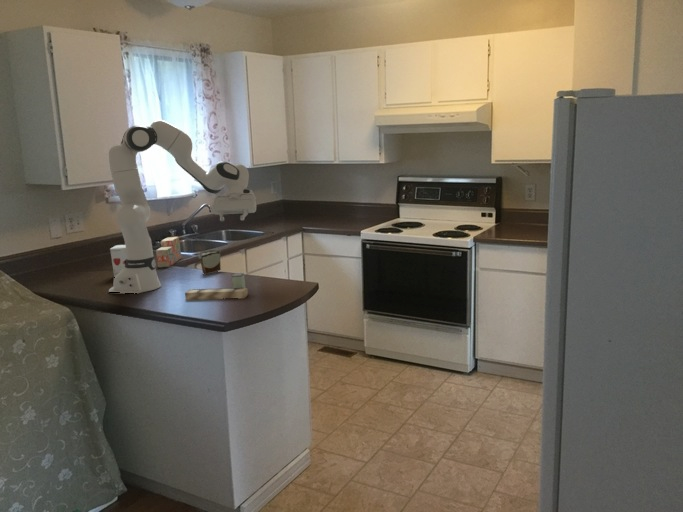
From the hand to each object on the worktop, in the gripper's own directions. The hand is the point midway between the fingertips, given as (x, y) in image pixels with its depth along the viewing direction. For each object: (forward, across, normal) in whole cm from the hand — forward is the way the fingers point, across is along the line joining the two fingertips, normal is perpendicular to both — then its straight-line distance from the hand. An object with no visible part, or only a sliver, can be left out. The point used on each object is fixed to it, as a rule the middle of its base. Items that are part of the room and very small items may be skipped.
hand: (231, 220), depth 270 cm
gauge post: (+36, +8, +3) cm, 37 cm away
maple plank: (+40, 0, -1) cm, 40 cm away
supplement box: (+10, -62, +29) cm, 69 cm away
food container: (+8, -20, +31) cm, 38 cm away
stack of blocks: (-9, -50, +48) cm, 70 cm away
